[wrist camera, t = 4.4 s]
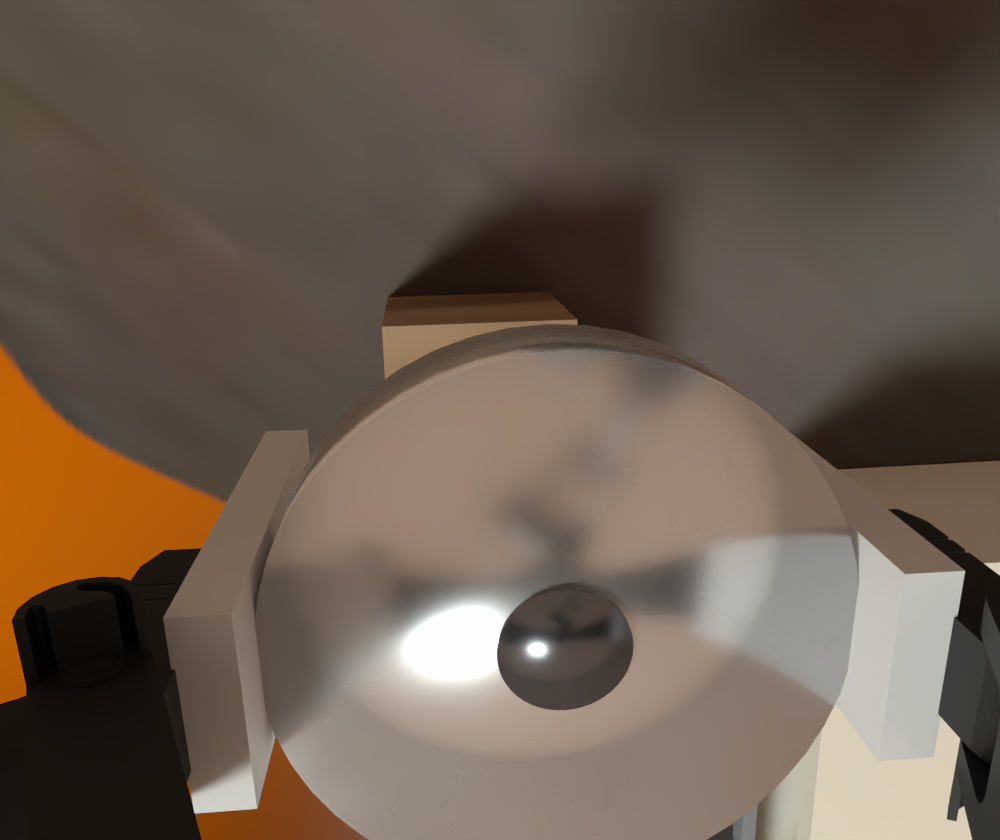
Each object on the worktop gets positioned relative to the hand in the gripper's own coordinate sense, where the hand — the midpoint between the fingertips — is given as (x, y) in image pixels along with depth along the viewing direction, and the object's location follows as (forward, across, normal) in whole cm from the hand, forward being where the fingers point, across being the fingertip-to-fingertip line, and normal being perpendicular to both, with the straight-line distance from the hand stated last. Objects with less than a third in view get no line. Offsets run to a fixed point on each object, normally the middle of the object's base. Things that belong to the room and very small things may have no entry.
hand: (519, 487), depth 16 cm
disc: (-4, 0, 0) cm, 4 cm away
